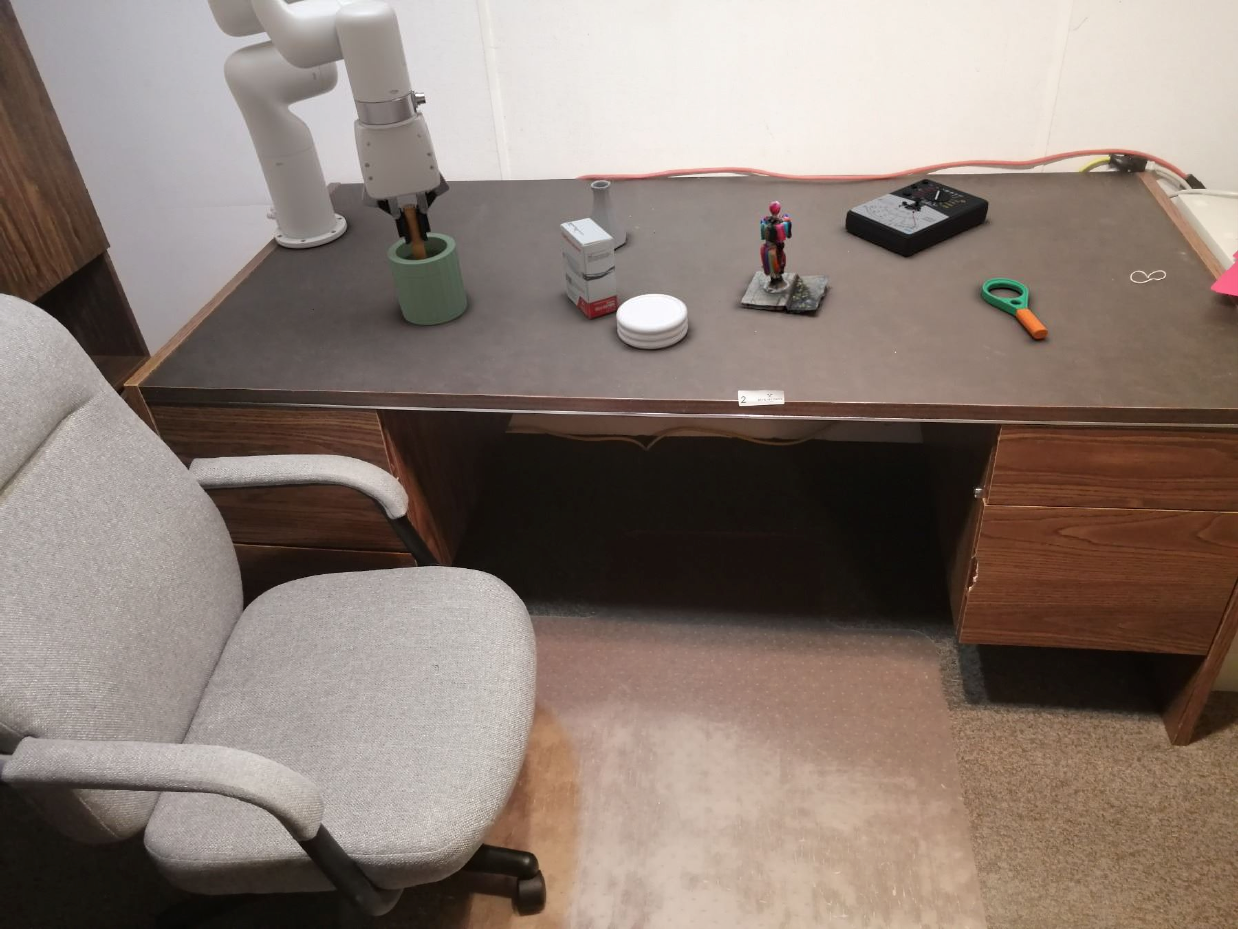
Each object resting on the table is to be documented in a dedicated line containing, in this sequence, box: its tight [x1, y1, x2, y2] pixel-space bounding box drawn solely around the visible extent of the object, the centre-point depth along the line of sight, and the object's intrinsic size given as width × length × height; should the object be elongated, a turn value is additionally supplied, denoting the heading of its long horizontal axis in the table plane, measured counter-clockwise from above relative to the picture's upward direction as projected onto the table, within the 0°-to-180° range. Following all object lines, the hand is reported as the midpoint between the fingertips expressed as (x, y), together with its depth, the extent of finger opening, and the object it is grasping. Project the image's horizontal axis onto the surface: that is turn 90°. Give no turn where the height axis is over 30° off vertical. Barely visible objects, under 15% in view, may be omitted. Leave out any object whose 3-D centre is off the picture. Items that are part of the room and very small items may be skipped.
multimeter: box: [844, 178, 990, 257], centre depth 145 cm, size 13×19×5 cm
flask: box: [590, 179, 627, 250], centre depth 146 cm, size 7×7×10 cm
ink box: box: [559, 217, 619, 319], centre depth 130 cm, size 8×5×12 cm, turn 26°
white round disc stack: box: [615, 293, 689, 350], centre depth 125 cm, size 10×10×4 cm
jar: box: [387, 232, 468, 326], centre depth 133 cm, size 10×10×10 cm
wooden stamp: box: [401, 203, 427, 260], centre depth 130 cm, size 5×5×16 cm
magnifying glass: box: [981, 277, 1049, 339], centre depth 123 cm, size 15×6×2 cm, turn 3°
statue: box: [740, 200, 830, 314], centre depth 127 cm, size 11×9×15 cm
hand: (415, 238), depth 128 cm, fingers closed on wooden stamp
